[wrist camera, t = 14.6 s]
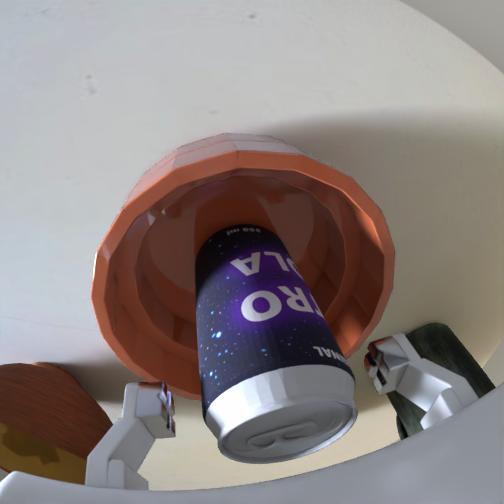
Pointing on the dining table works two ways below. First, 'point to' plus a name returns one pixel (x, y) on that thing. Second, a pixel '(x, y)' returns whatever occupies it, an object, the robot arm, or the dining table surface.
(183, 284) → the terracotta bowl
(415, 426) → the mug
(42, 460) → the bowl
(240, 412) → the beverage can
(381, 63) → the dining table surface
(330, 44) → the dining table surface
